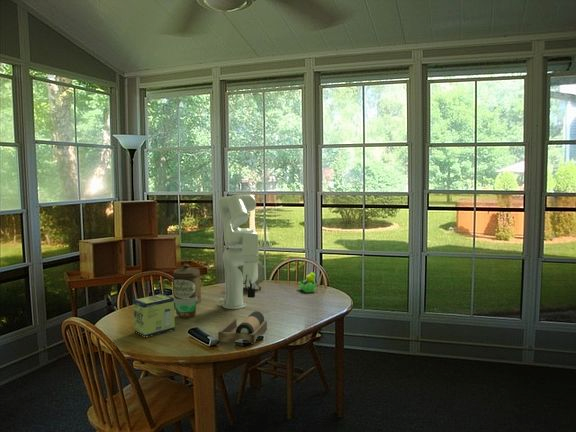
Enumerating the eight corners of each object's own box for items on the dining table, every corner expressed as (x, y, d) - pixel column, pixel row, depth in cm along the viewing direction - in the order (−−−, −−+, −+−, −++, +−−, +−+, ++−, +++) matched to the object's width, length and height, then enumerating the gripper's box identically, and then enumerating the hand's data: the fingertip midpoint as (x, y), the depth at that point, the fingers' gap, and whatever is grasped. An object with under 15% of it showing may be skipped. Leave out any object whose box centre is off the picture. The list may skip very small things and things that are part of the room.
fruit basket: (298, 289, 298) (298, 271, 297) (311, 287, 301) (311, 270, 300) (304, 293, 287) (304, 274, 286) (318, 292, 290) (318, 273, 289)
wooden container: (169, 305, 265) (168, 265, 263) (181, 298, 279) (180, 261, 277) (194, 306, 261) (193, 266, 259) (205, 299, 276) (204, 261, 274)
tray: (218, 341, 206) (218, 332, 205) (234, 327, 225) (234, 318, 225) (254, 344, 202) (253, 335, 202) (266, 329, 221) (266, 320, 221)
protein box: (133, 333, 219) (132, 299, 217) (164, 325, 229) (162, 293, 228) (144, 338, 211) (143, 303, 210) (175, 330, 222) (174, 297, 221)
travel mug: (261, 308, 223) (248, 321, 203) (267, 323, 223) (255, 338, 203) (246, 313, 225) (232, 326, 205) (252, 328, 225) (239, 343, 205)
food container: (174, 320, 237) (173, 300, 236) (173, 316, 243) (173, 297, 242) (199, 318, 240) (198, 298, 239) (198, 314, 246) (197, 295, 245)
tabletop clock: (264, 289, 298) (263, 249, 296) (255, 292, 291) (254, 251, 288) (245, 286, 306) (244, 247, 304) (236, 289, 298) (235, 249, 296)
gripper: (247, 255, 231) (248, 292, 232) (237, 261, 216) (238, 300, 218) (262, 256, 229) (263, 293, 231) (253, 261, 214) (254, 301, 216)
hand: (251, 297), depth 224 cm, fingers closed
